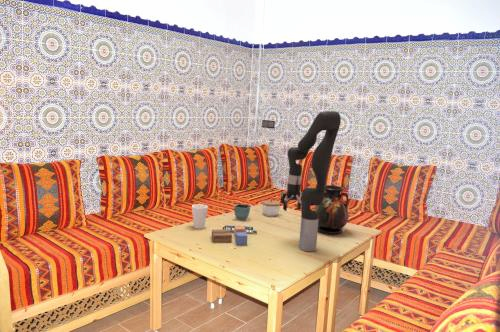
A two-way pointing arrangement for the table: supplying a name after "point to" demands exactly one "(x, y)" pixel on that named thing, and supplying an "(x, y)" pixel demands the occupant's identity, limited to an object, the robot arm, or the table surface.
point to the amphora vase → (332, 211)
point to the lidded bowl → (270, 207)
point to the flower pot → (242, 211)
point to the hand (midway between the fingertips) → (291, 210)
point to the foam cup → (199, 215)
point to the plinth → (221, 236)
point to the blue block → (241, 238)
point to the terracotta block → (239, 229)
